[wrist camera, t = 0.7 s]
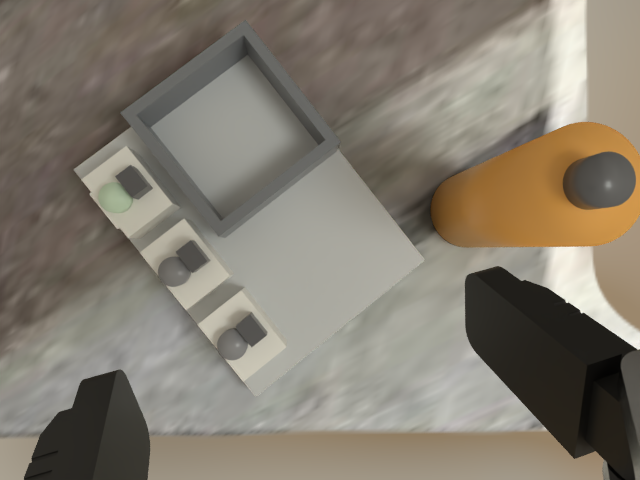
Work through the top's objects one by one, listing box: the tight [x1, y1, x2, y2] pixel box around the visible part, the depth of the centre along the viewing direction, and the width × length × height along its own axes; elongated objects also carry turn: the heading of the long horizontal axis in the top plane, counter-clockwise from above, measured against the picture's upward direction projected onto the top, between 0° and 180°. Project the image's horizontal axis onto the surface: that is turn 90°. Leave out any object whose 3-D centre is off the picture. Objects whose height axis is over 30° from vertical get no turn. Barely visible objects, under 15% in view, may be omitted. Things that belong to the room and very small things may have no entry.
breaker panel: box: [74, 20, 425, 397], centre depth 26 cm, size 13×17×4 cm
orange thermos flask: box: [430, 122, 640, 247], centre depth 23 cm, size 5×5×13 cm
